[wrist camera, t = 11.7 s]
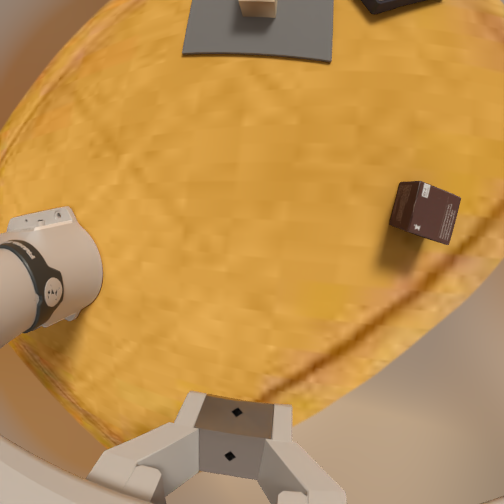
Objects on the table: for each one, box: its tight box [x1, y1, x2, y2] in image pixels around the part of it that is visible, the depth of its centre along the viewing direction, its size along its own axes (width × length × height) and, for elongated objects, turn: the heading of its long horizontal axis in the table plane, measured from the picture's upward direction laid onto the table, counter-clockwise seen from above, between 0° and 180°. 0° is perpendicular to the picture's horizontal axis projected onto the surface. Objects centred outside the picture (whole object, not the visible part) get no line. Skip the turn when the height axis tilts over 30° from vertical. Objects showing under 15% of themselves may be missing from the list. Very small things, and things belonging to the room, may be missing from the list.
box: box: [389, 181, 461, 245], centre depth 36 cm, size 6×6×7 cm
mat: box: [182, 0, 333, 62], centre depth 36 cm, size 20×15×1 cm
